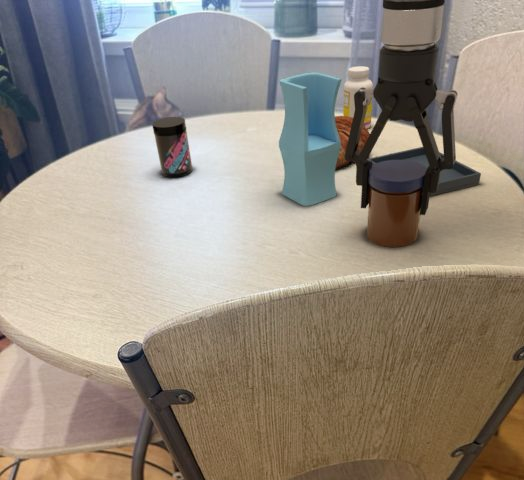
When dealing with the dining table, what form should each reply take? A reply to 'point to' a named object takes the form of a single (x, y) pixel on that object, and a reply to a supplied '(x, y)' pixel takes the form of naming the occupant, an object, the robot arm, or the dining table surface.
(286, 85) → the blue toy chair
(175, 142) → the supplement container
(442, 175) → the tray
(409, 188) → the lid
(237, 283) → the dining table surface
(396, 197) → the jar
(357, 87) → the supplement bottle
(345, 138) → the pastry
